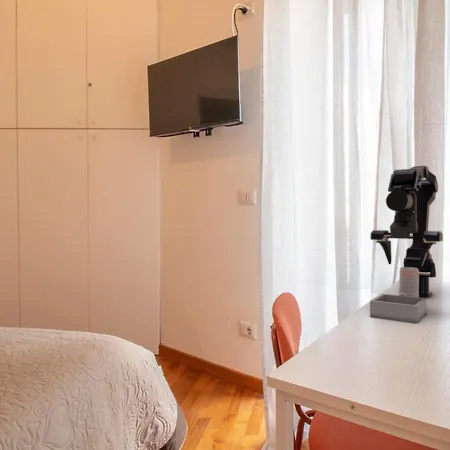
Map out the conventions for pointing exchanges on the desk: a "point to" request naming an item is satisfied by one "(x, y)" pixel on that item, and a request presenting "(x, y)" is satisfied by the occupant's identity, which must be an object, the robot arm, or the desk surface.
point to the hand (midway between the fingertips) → (405, 265)
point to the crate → (398, 308)
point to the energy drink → (409, 282)
